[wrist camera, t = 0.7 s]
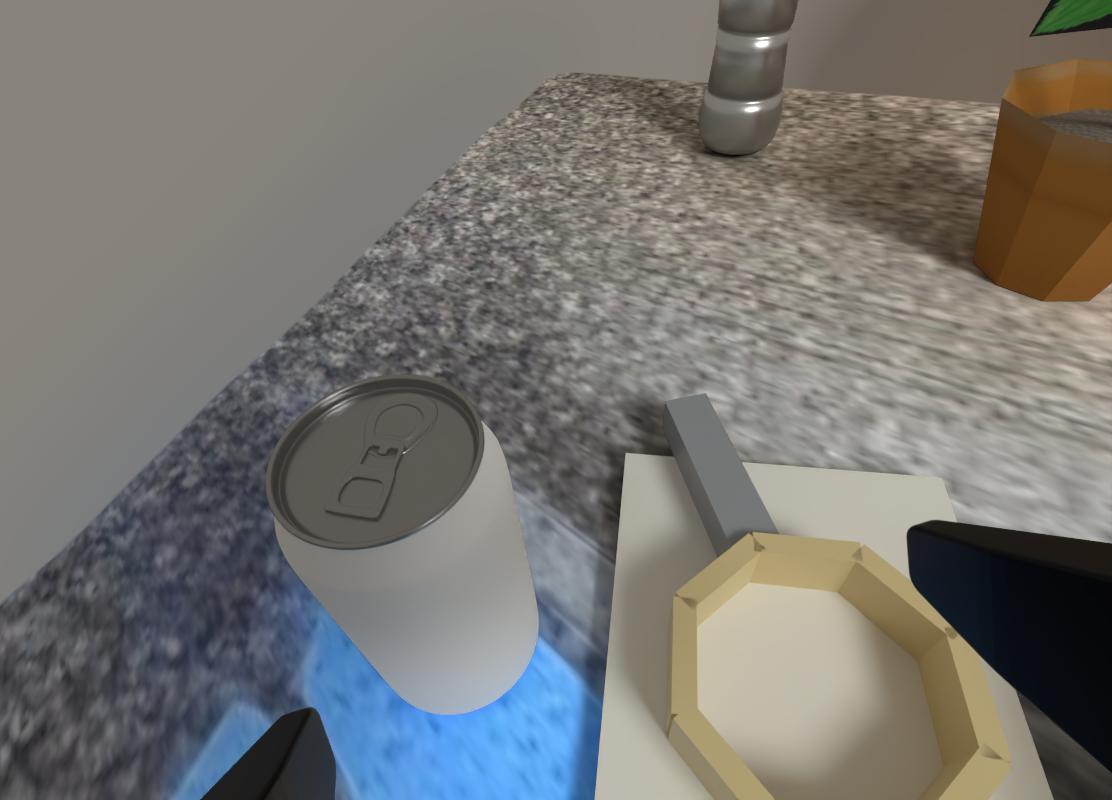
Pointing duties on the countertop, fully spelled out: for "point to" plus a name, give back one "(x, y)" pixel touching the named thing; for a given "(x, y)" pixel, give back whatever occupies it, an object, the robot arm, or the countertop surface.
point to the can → (409, 537)
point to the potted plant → (1053, 171)
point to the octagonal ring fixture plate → (790, 640)
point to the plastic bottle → (746, 75)
